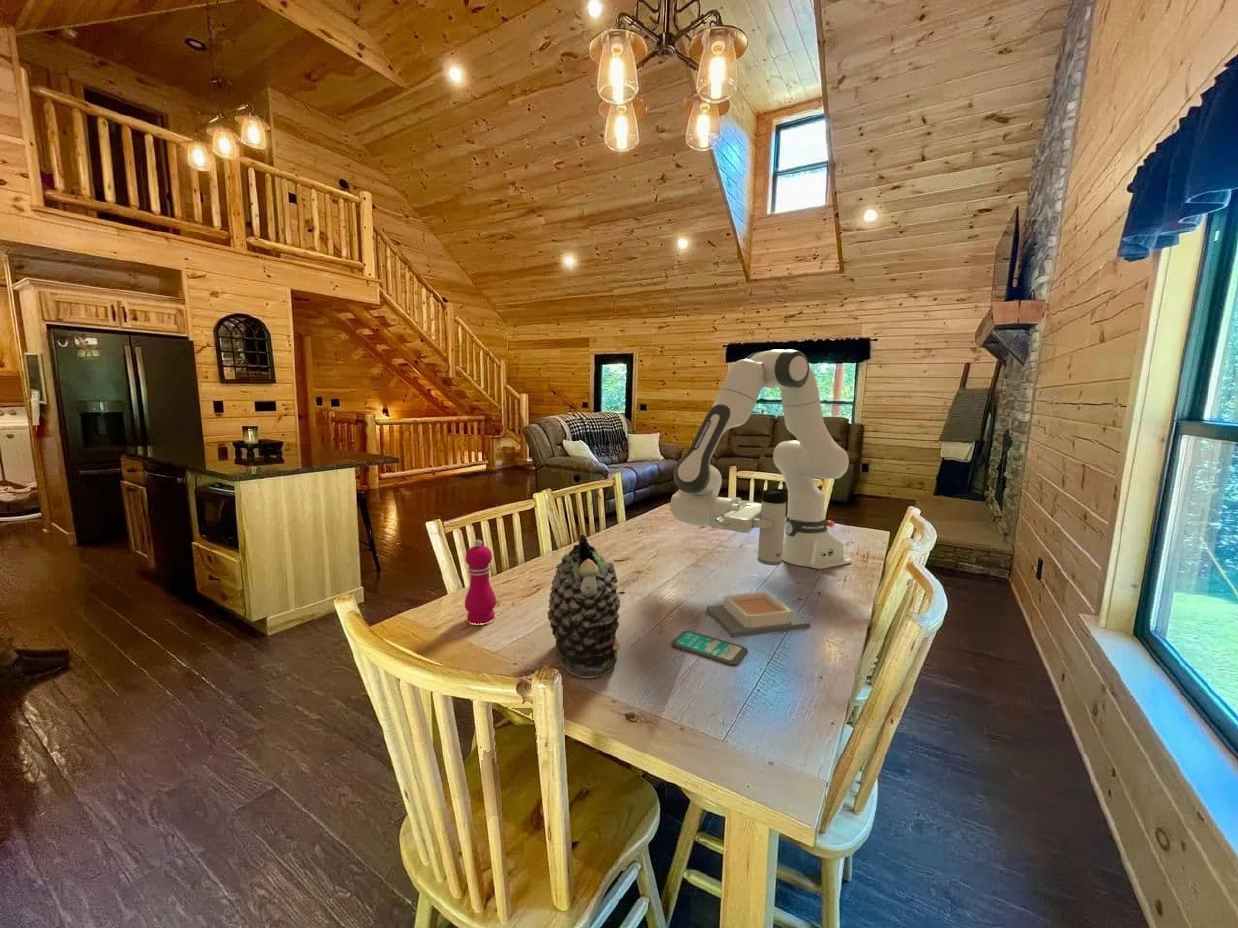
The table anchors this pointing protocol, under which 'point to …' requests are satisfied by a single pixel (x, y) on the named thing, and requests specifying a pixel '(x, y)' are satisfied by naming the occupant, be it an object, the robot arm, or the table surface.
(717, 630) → the table surface
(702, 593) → the table surface
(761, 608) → the pad
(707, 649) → the smartphone
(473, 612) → the pepper mill
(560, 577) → the decorative house
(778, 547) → the travel mug
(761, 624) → the tray
